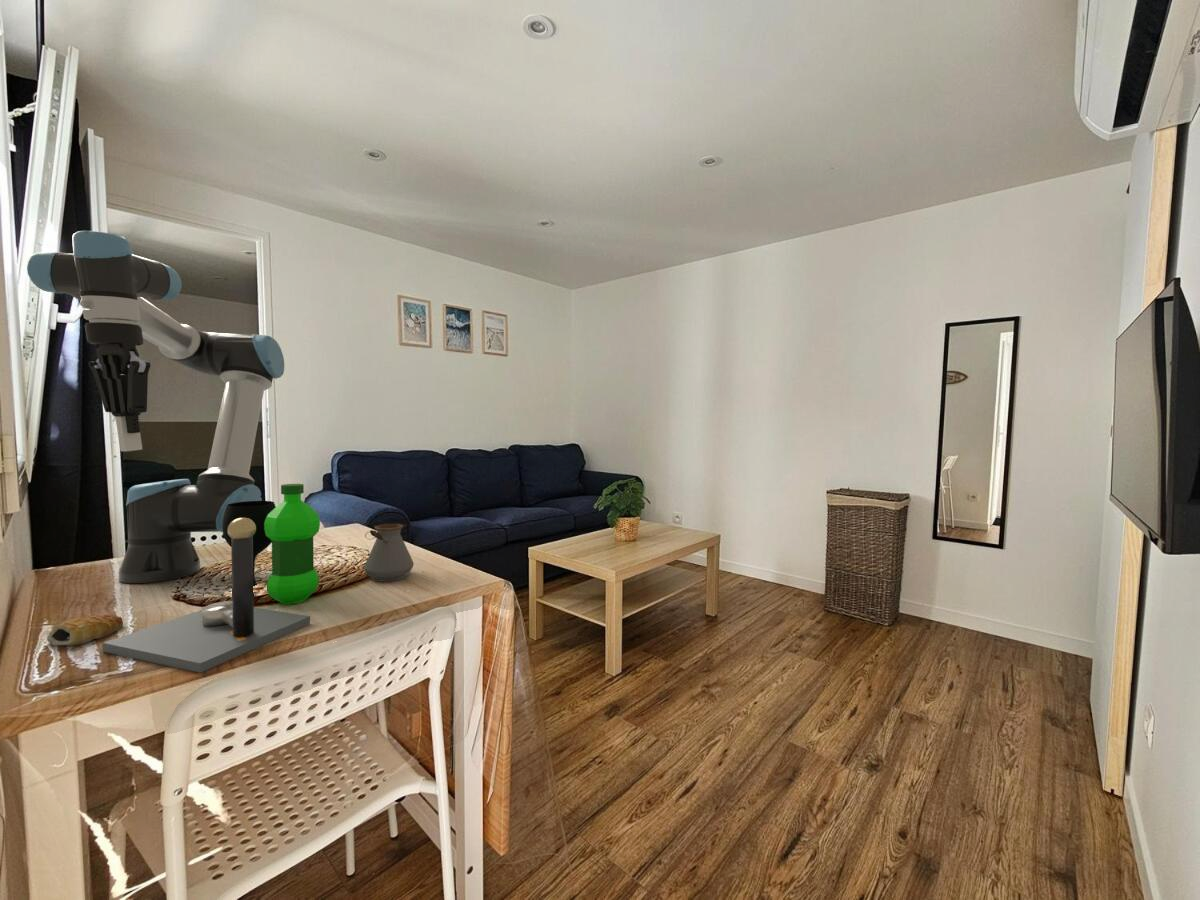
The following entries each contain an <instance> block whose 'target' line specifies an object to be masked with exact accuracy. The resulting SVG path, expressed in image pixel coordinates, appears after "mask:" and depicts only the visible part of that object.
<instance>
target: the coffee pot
mask: <svg viewBox="0 0 1200 900" xmlns="http://www.w3.org/2000/svg"><path fill="white" fill-rule="evenodd" d="M402 528H404V525H403V524H400V523H384V524H379V525H376V526H374V529H375V530H373V529H372V530H369V531H367V532H365V535H364V537H365V538H366V539H367V540H374V539H375V542H374V544H373V546H372V549H371V550H370V553H369V555H368V557H367V560H366V561H365V564H364V567H363V570H364V572H365V574H366V575H367V576H369V577H370V578H372V580H374V581H375V582H393V581H399V580H401V579H404V578H405V577H406V575H408V574H409V573H410V572H411V571H412V569H413V567H414V565H415V563H414V560H413V559H412V555H410V552H409V549H408V548H407V546H406V543H405V541H404V539H403V537H402V535H401V532H402V531H401V530H402ZM368 533H370V535H371V536H372V537H373V538H368V537H367V534H368Z"/></svg>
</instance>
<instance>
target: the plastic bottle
mask: <svg viewBox="0 0 1200 900" xmlns="http://www.w3.org/2000/svg"><path fill="white" fill-rule="evenodd" d="M304 486H305V485H304V483H287V484H286V483H285V484H281V485H280V494H281V495H283V501H282V502H281V503H279V504H278V505H277V506H276V508H274V509H273V510H272V511H271V512H270V513H269V514H268V515H267V517H266V520H265V523H264V530H265V534H266V536H267V537H268V538H269V539H271V540H272V543H271V573H270V575H269V577H268V579H267V582H266V583H267V591H268V593H269V594H268V595H269V597H271V598H272V599H273V600H274V601H275V600H276V601H277V602H279V604H281V605H282V604H283V605H292V604H298V603H303V602H304V601H306V600H308V598H310V596H311V595H312V594H314V593H315V592H316V590H317V589H318V586H319V582H320V581H319V580H320V579H319V574H318V573H317V570H316V569H315V567H314V566H315V565H314V564H315V563H314V559H315V558H314V537H315V536H316V535H317V533H319V531H320V526H321V518H320V516H319V514H318V513H319V512H318V511H317V510H316V509H314V508H313V507H311V505H309V504H307V503H306V502H305V501H303V500H302V494H304V493H305V492H304Z"/></svg>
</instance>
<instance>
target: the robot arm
mask: <svg viewBox="0 0 1200 900" xmlns="http://www.w3.org/2000/svg"><path fill="white" fill-rule="evenodd" d="M72 251H73V253H67V252H60V251H54V252H35V253H33V254H32V255H31V256H29V258H28V260H27V264H26V273H27V276H28V278H29V280H30V281H31V282H32V283H33V285H34V286H36V287H37V288H38V289H39V290H41V291H43V292H46V293H47V292H48V293H53V294H54V293H55V294H57V295H58V294H59V295H62V294H67V295H70V296H71V297H73V298H74V299H76V300H78V301H79V305H80V306H81V308H82V314H83V319H85V320H87V321H89V322H85V324H84V330H85V337H86V341H87V343H89V344H91V345H96V346H97V350H96V351H97V352H96V356H97V359H96V360H94V361H88V367H89V369H90V370H91V372H92V374H93V376H94V380H95V382H96V386H97V389H98V393H99V395H100V399H101V403H102V406H103V409H104V411H105V412H106V413H111V415H112V416H113V417H114V418H115V423H116V431H117V437H118V443H119V450H120V452H133V451H141V450H143V443H142V437H141V428H140V419H139V416H140V415H141V414H142V413H147V411H148V384H149V383H148V382H149V381H148V380H149V371H150V369H151V363H150V361H149V360H147V361H146V360H142V359H141V358H140V354H139V352H138V350H137V347H138V346H142V345H143V344H144V340H146V341H148V342H149V343H151V344H152V345H155V346H156V347H158V350H159V351H160V353H161V354H162V355H164V356H165V357H167V358H169V359H170V360H172V361H174V362H176V363H177V364H180V365H182V366H185V367H186V368H189V369H191V370H195V371H197V372H199V373H203V374H206V375H209V376H217V377H219V378H220V380H221V381H222V382H223V383H224V385H225V386H224V387H223V388H224V390H223V394H222V398H221V404H220V407H219V413H218V419H217V424H216V427H215V431H214V432H215V433H214V437H213V442H212V447H211V451H210V456H209V461H208V466H207V470H205V471H203V472H202V473H200V474H199V475H198V476H197V481H196V484H192V482H191V481H190V479H189V478H181V479H180V478H179V479H171V480H163V481H155V482H147V483H146V482H145V483H141V484H135V485H133V486H131V487H130V488H129V489H128V490H127V495H126V502H125V503H126V504H125V506H126V512H127V513H126V514H127V515H126V518H127V520H126V521H127V549H126V551H125V554H124V557H123V558H122V559H123V560H122V562H121V564H120V567H119V570H118V580H119V582H121V583H126V584H147V583H157V582H164V581H169V580H175V579H180V578H184V577H187V576H190V575H193V574H196V573H198V572H199V571H200V570H201V559H200V557H199V556H198V552H197V551H196V548H195V546H194V544H193V542H192V537H191V536H192V533H217V532H219V533H223V531H222V521H223V516H224V512H225V509H226V506H227V505H228V504H231V503H237V502H246V501H263V500H262V497H261V496H262V492H261V489H260V488H259V487H258V486H257V485H255V479H254V478H253V477H252V476H251V475H250V470H251V466H252V465H251V463H252V459H253V458H252V457H253V453H254V447H255V443H256V436H257V430H258V425H259V421H260V414H261V409H262V405H263V404H262V403H263V399H264V392H265V391H267V390H269V389H271V388H272V384H273V380H274V379H276V380H277V379H279V378H281V377H282V376H283V375H284V372H285V358H284V355H283V351H282V348H281V346H280V344H279V343H278V342H277V340H276V339H275V338H273V337H272V336H270V335H266V334H264V335H263V334H257V333H253V334H251V333H250V334H249V333H228V332H227V333H226V332H208V331H202V330H198V329H196V328H194V327H192V326H191V325H188V324H185V323H184V324H183V323H180V322H178V321H177V320H175V318H173V317H171V316H170V315H169V314H168V313H165V312H164V311H163V310H161V309H160V308H158V307H156V305H154V304H153V303H151V302H150V301H148V300H147V299H150V300H152V301H153V300H154V301H157V300H158V301H169V300H173V299H174V298H176V297H177V296H178V295H179V294H180V292H181V291H182V284H183V283H182V280H181V279H182V278H181V277H180V275H179V273H178V272H177V271H176V270H175V269H174V268H173V267H171V266H169V265H167V264H164V263H162V262H160V261H158V260H153V259H150V258H146V257H143V256H139V255H136V254H134V253H133V250H132V247H131V243H130V241H128V239H127V238H126V237H124V236H121V235H118V234H114V233H111V232H110V233H109V232H105V231H96V230H78V231H76V232H75V233H73V234H72Z"/></svg>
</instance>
